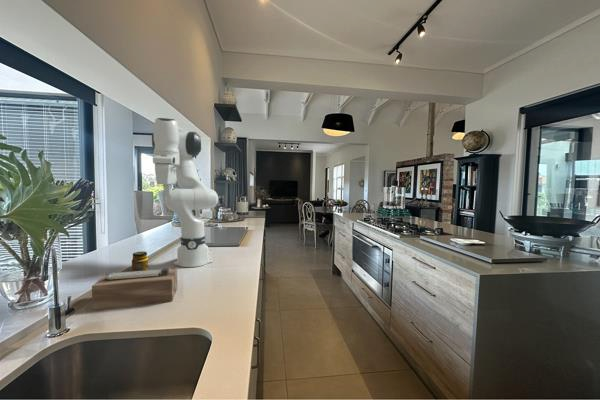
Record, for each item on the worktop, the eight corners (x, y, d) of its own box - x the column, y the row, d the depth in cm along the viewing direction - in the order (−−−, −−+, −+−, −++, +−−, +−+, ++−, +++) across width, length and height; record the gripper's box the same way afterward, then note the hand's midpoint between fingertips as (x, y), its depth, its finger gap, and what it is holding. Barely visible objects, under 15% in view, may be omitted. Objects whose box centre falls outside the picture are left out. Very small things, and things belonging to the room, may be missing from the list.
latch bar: (109, 276, 96) (109, 272, 96) (161, 272, 100) (160, 268, 100) (104, 280, 91) (104, 276, 91) (158, 276, 96) (158, 272, 96)
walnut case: (107, 294, 99) (106, 268, 99) (177, 288, 106) (176, 263, 105) (92, 309, 88) (91, 280, 87) (172, 301, 95) (171, 273, 94)
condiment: (153, 277, 118) (152, 250, 117) (140, 284, 109) (140, 256, 108) (137, 277, 118) (136, 250, 117) (123, 284, 110) (122, 255, 109)
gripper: (163, 161, 112) (164, 194, 113) (151, 157, 92) (152, 197, 93) (179, 162, 114) (180, 194, 114) (171, 158, 94) (172, 197, 95)
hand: (167, 195), depth 104 cm, fingers closed
